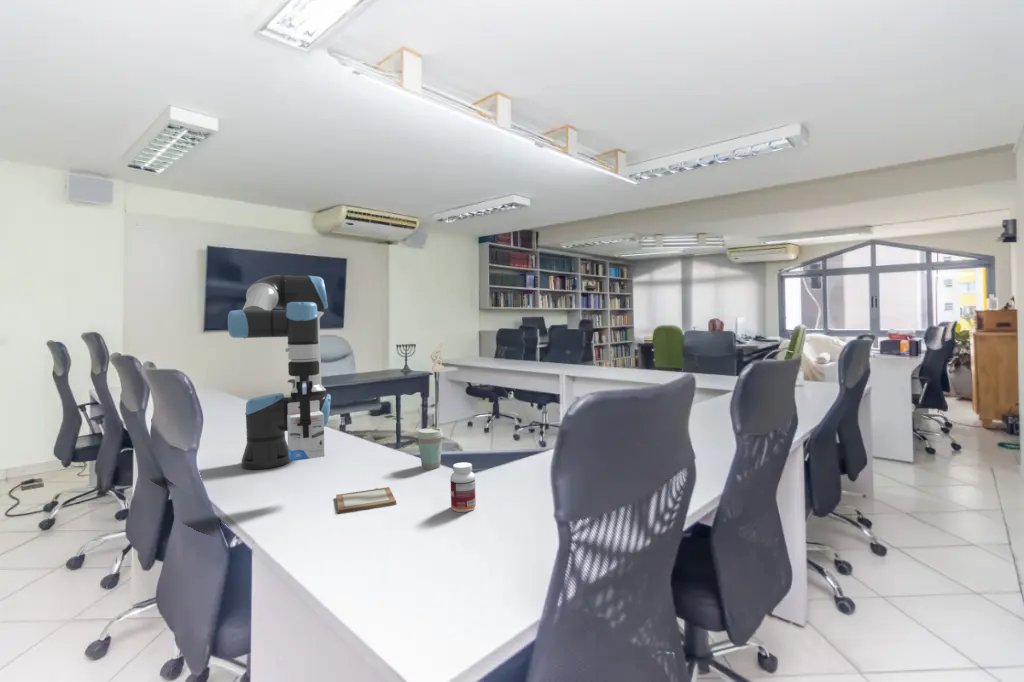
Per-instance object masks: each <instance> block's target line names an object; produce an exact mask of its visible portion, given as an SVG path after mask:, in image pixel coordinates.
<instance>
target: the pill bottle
mask: <svg viewBox="0 0 1024 682" xmlns="http://www.w3.org/2000/svg"><path fill="white" fill-rule="evenodd" d="M452 472H453V473H451V475H450V506H451V509H452V510H453V511H454V512H456V513H466V512H467V513H468V512H471V511H473V510H474V509H476V506H477V505H476V504H477V503H476V501H477V499H476V498H477V497H476V476H475V473H474V472H473V464H472V463H470V462H457V463H454V464H453V465H452Z"/></svg>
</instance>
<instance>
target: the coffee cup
mask: <svg viewBox="0 0 1024 682" xmlns="http://www.w3.org/2000/svg"><path fill="white" fill-rule="evenodd" d="M443 437H444V433H443V429H442V428H440V427H426V428H421V429H419V430H418V431H417V435H416V438H417V440H418V448H419V455H420V462H421V468H422V469H423V470H424V469H425V470H434V469H439V468H440V467H441V459H442V447H443V446H442V445H443Z"/></svg>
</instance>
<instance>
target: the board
mask: <svg viewBox="0 0 1024 682" xmlns="http://www.w3.org/2000/svg"><path fill="white" fill-rule="evenodd" d="M335 499H336V505H337V511H338V514H344V513H345V514H346V513H351V512H357V511H362V510H370V509H375V508H383V507H388V506H395V505H397V500H396V498H395V496H394V495H393V492H392V491H391V488H390V486H386V487H380V488H374V489H368V490H359V491H353V492H347V493H340V494H336V495H335Z"/></svg>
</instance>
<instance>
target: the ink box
mask: <svg viewBox="0 0 1024 682" xmlns="http://www.w3.org/2000/svg"><path fill="white" fill-rule="evenodd" d="M299 406H300V402H294V403H288V415H287V427H288V431H287V445H288V457H289V459H290V460H291V461H290V462H296V461H302V460H310V459H317V458H321V457H322V458H323V457H325V456H326V455H325V427H324V414H323V413H322V412H321V411H319V400H316V401H310V420H311V434H312V449H309V450H301V443H300V426H297V424H298V423H300V408H298V407H299ZM304 420H306V419H304Z"/></svg>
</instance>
